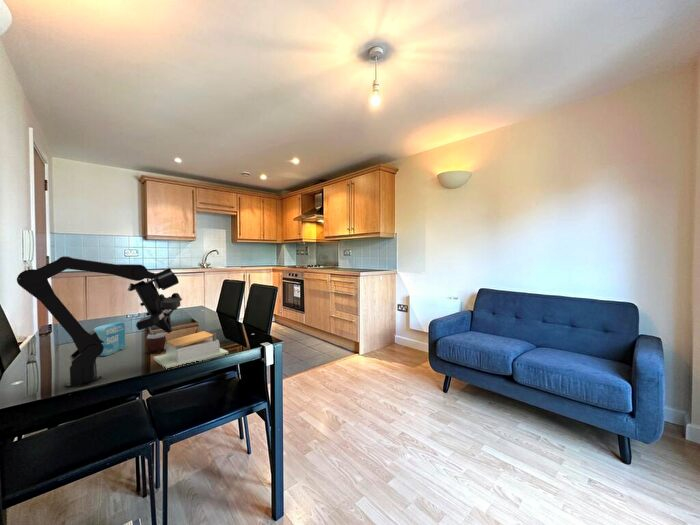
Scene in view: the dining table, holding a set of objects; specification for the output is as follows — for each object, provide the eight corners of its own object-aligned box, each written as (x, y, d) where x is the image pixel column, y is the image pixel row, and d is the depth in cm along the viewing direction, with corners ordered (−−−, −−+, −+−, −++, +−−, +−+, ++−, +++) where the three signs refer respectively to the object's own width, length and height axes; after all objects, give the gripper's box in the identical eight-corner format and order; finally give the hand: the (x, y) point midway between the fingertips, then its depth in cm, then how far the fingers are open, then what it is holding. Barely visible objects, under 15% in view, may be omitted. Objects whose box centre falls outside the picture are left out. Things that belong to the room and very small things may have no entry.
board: (166, 369, 103) (166, 366, 103) (153, 359, 115) (153, 356, 115) (228, 353, 119) (228, 351, 119) (211, 346, 131) (211, 343, 131)
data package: (105, 356, 120) (104, 327, 120) (93, 357, 120) (92, 328, 120) (125, 348, 132) (124, 321, 132) (115, 348, 132) (114, 322, 132)
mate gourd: (169, 351, 126) (168, 316, 125) (148, 356, 119) (147, 319, 119) (161, 348, 130) (159, 314, 130) (140, 353, 123) (139, 317, 123)
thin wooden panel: (176, 348, 108) (175, 346, 108) (167, 342, 116) (166, 340, 116) (214, 336, 118) (214, 334, 118) (204, 332, 126) (203, 331, 126)
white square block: (178, 363, 107) (177, 341, 107) (166, 354, 117) (165, 334, 117) (219, 352, 118) (219, 332, 118) (205, 345, 128) (204, 327, 128)
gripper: (156, 300, 98) (177, 339, 103) (182, 280, 116) (200, 314, 120) (125, 310, 98) (148, 348, 103) (156, 289, 116) (174, 322, 121)
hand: (170, 332), depth 112 cm, fingers closed
